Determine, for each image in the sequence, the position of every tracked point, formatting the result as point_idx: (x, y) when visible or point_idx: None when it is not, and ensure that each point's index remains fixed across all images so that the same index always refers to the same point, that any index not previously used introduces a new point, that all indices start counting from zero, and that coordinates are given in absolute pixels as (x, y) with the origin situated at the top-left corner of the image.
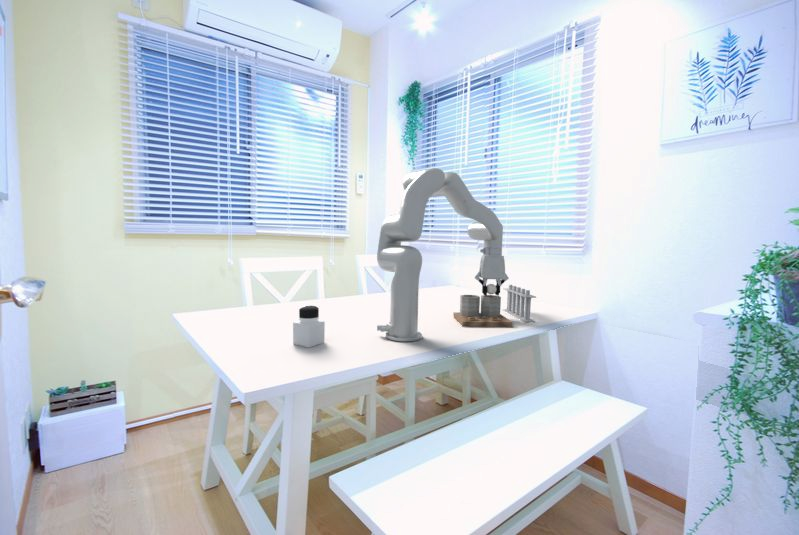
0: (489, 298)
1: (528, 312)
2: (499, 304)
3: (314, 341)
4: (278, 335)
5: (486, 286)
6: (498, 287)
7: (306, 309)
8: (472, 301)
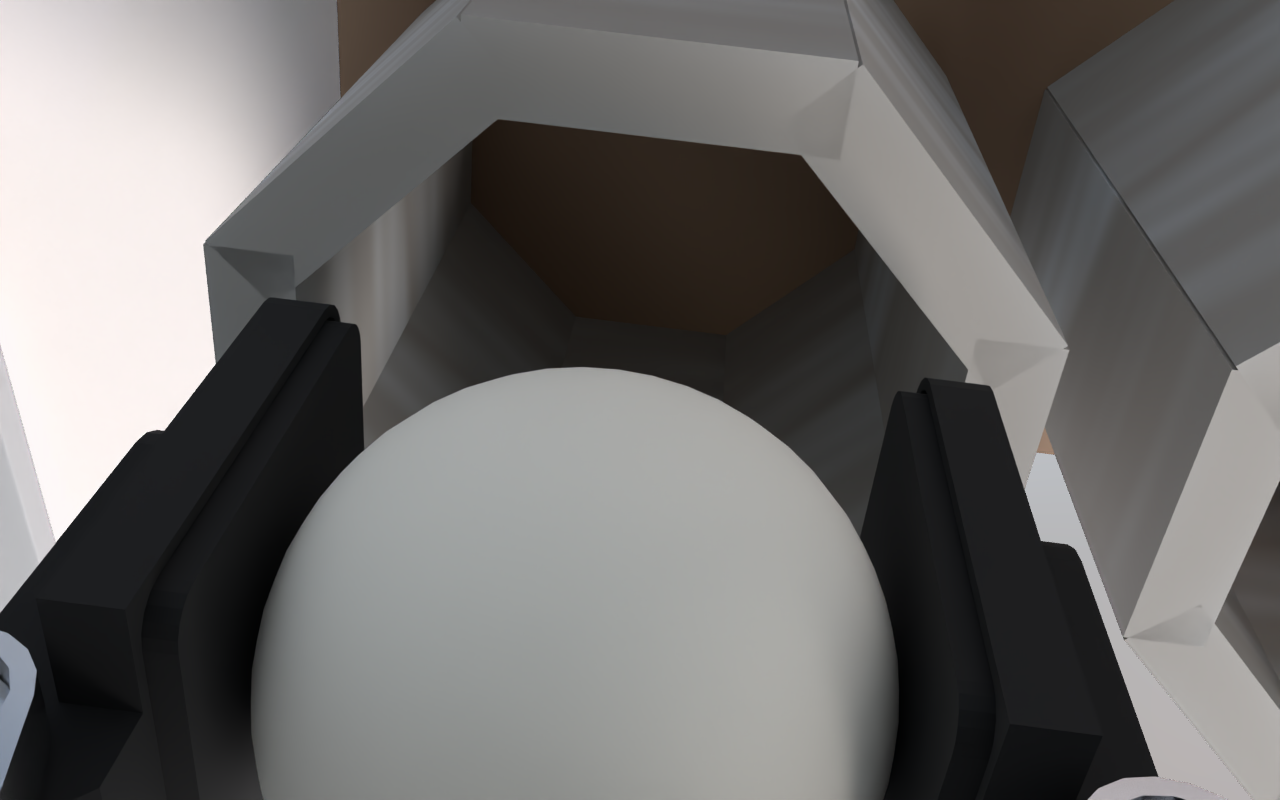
0: (874, 64)
1: None
2: (374, 71)
3: None
4: None
5: (1029, 698)
6: (136, 539)
7: None
8: None
